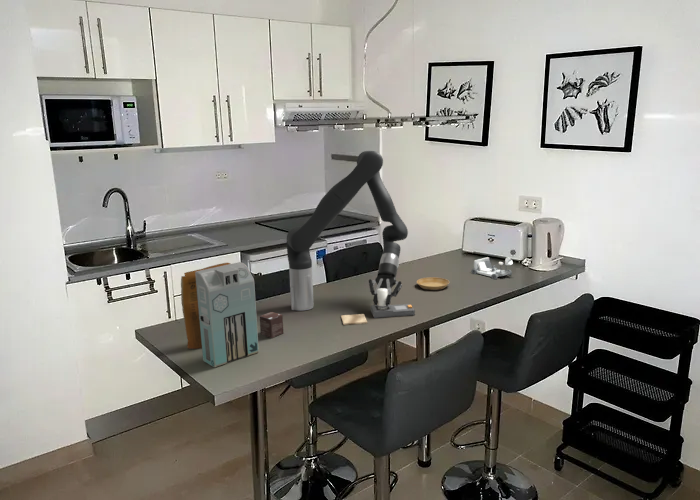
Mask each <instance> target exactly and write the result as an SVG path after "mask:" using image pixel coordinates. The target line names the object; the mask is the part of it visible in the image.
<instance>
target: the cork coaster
mask: <svg viewBox="0 0 700 500" xmlns="http://www.w3.org/2000/svg"><path fill="white" fill-rule="evenodd" d="M340 318H341V320H342V321H341V322H342V324H343V325H344V326H346V325H347V326H351V325H361V324H363V325H364V324H368V320H367V318H366V316H365V314H364V313H358V314H357V313H355V314H344V315H340Z"/></svg>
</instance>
